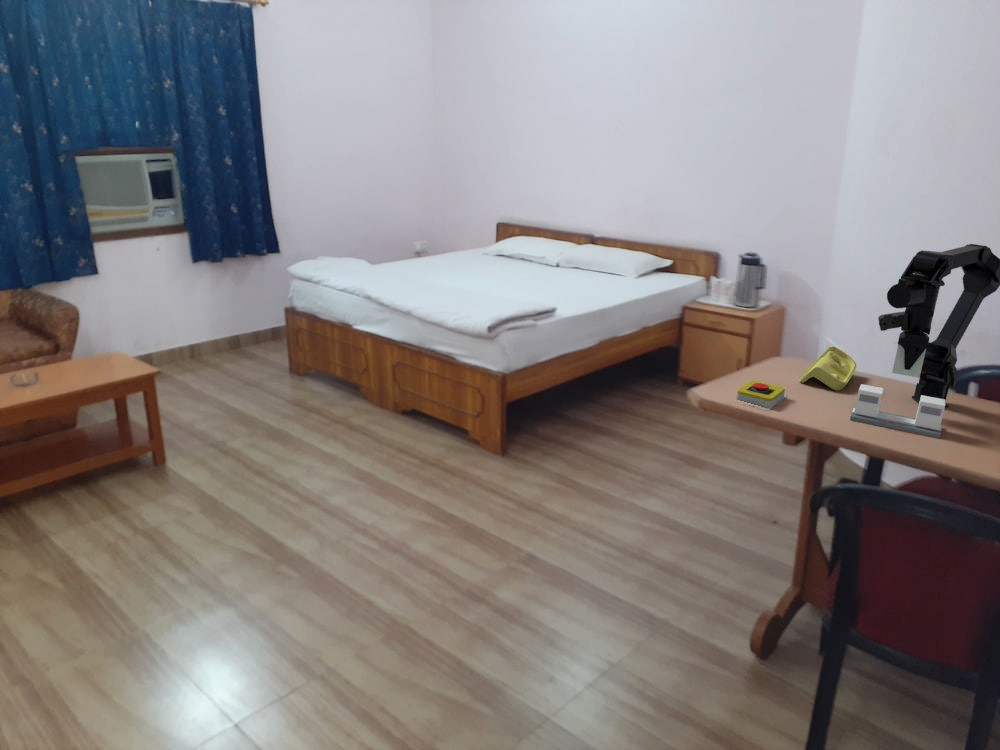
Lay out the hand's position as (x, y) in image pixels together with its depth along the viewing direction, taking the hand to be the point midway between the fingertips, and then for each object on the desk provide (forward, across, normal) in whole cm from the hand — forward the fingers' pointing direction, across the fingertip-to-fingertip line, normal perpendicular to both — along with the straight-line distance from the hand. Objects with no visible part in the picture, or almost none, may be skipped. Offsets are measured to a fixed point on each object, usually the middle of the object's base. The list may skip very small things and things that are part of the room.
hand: (907, 366), depth 181 cm
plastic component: (+12, -16, -18) cm, 27 cm away
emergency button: (+12, +12, -31) cm, 36 cm away
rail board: (+12, +10, 0) cm, 16 cm away
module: (+2, 0, 0) cm, 2 cm away
